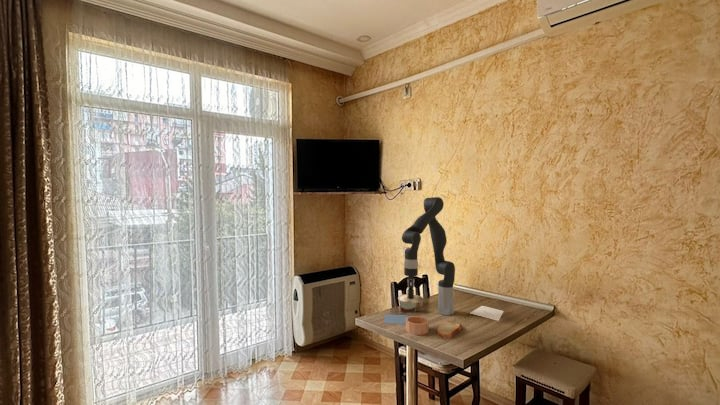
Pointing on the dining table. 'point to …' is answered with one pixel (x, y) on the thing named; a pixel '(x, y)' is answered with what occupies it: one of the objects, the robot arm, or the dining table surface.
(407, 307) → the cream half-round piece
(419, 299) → the lid
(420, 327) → the bowl
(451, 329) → the bread slice
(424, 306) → the dining table surface
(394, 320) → the mat
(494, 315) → the paper sheet
